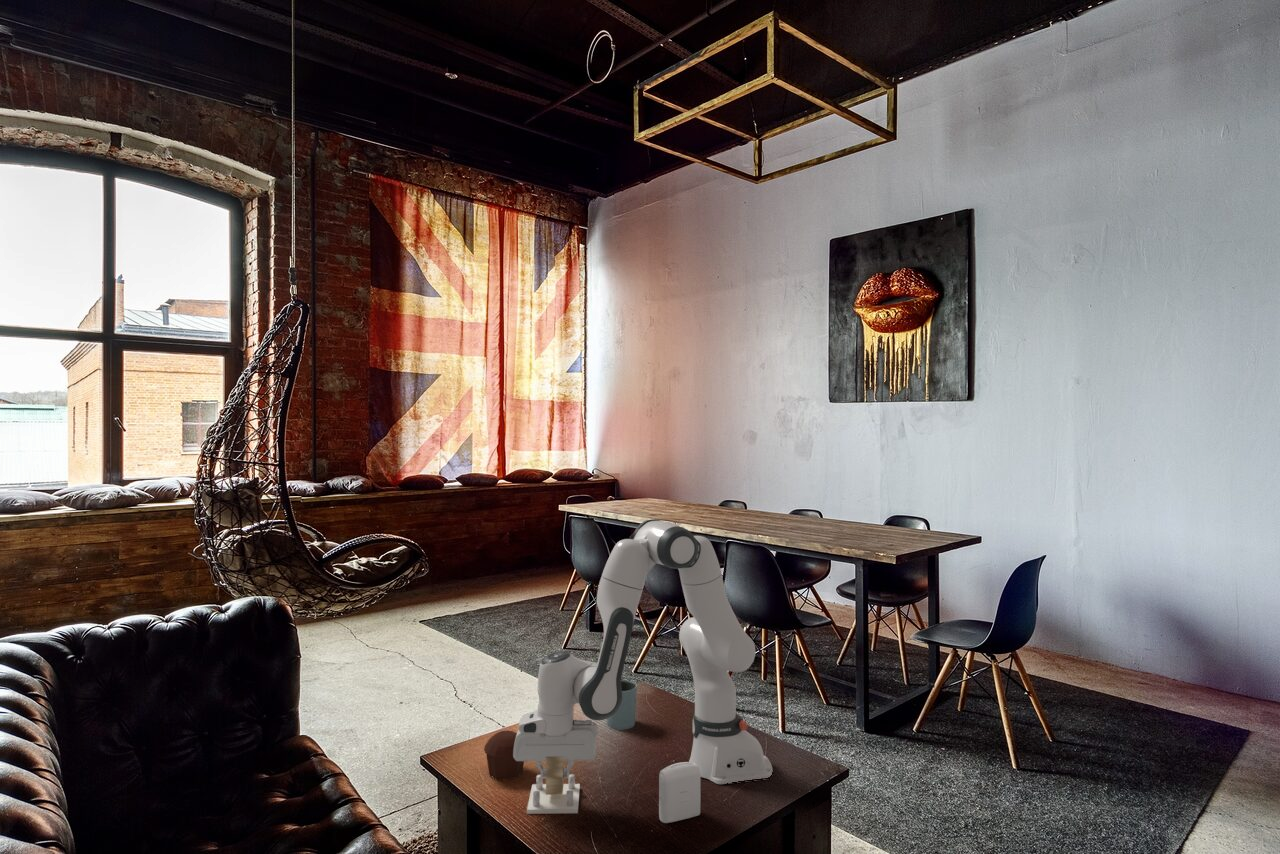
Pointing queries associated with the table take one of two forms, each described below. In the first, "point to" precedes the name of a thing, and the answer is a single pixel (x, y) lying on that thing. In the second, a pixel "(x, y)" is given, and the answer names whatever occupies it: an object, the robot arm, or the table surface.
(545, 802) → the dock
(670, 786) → the photo printer
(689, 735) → the table surface
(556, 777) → the block
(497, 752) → the muffin
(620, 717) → the teal cup
